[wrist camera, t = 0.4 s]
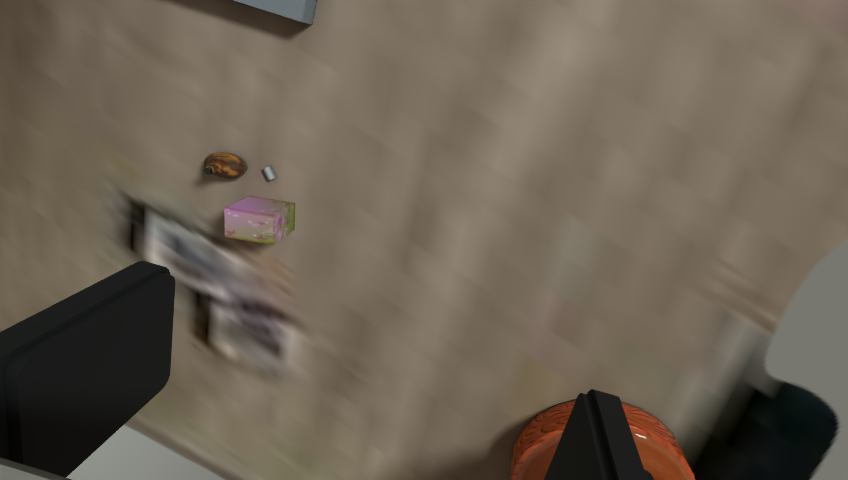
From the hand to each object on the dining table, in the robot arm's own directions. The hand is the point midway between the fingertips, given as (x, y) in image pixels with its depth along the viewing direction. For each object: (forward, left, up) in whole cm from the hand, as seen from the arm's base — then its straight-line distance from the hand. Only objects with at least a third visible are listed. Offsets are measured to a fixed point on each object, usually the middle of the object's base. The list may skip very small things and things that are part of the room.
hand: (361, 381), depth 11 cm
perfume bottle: (+10, -17, -31) cm, 37 cm away
